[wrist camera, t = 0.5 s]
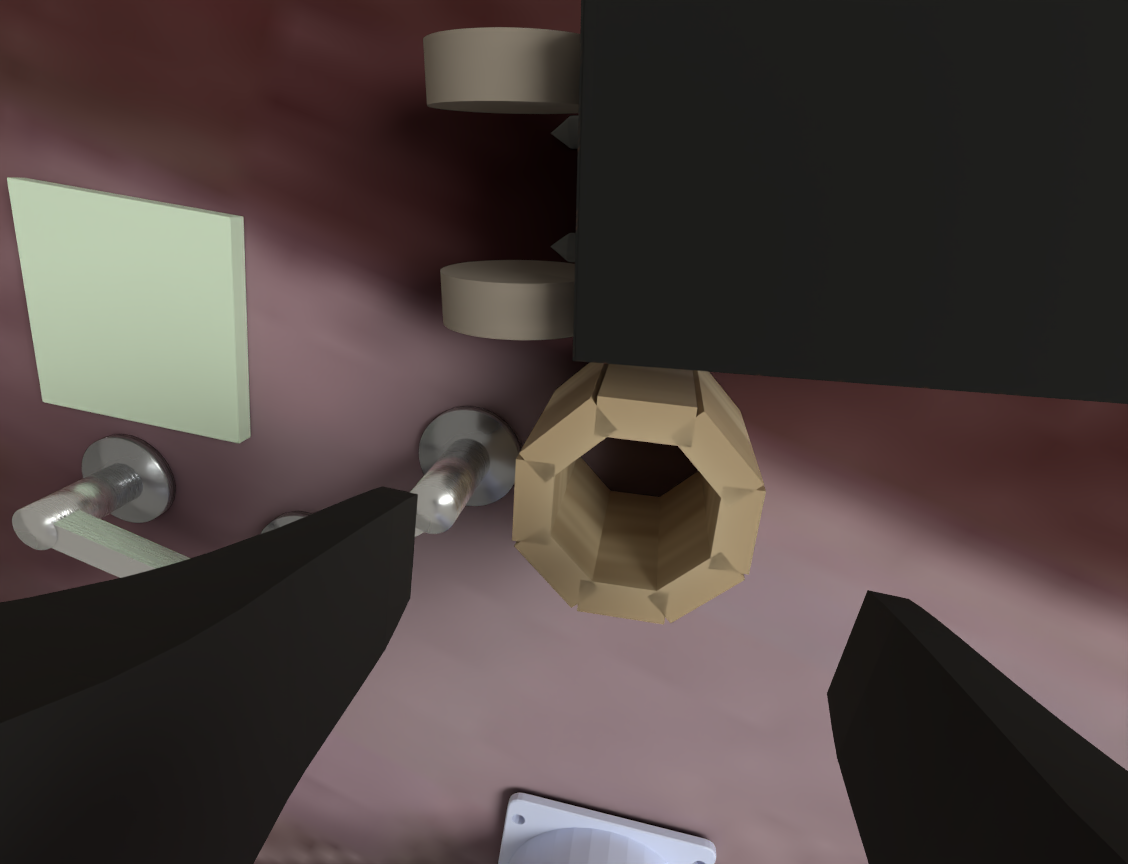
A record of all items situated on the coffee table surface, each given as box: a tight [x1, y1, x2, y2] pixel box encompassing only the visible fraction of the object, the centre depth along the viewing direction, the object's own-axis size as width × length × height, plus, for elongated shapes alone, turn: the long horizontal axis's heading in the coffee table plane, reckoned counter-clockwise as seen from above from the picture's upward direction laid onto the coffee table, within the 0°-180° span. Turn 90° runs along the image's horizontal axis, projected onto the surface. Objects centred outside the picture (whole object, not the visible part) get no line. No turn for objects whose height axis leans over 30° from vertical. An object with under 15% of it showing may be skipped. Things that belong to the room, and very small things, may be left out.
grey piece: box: [12, 406, 521, 578], centre depth 20 cm, size 8×15×4 cm, turn 81°
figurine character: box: [423, 0, 1128, 404], centre depth 13 cm, size 7×8×15 cm
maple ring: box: [512, 362, 766, 624], centre depth 17 cm, size 6×6×5 cm
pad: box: [7, 177, 251, 443], centre depth 20 cm, size 7×7×1 cm
